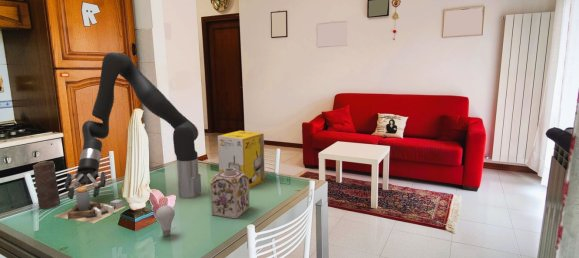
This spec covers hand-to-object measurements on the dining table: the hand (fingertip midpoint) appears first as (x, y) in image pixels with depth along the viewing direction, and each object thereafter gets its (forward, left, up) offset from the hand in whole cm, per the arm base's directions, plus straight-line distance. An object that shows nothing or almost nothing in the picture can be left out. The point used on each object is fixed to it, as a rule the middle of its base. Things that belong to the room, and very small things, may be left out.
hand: (82, 197), depth 134 cm
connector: (0, 0, -7) cm, 7 cm away
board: (-1, -2, -8) cm, 8 cm away
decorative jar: (-54, -21, -8) cm, 58 cm away
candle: (+21, -2, -8) cm, 23 cm away
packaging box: (-43, -55, -8) cm, 70 cm away
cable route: (-7, -4, -7) cm, 11 cm away
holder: (0, 0, -7) cm, 7 cm away
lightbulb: (-42, +4, -8) cm, 43 cm away
